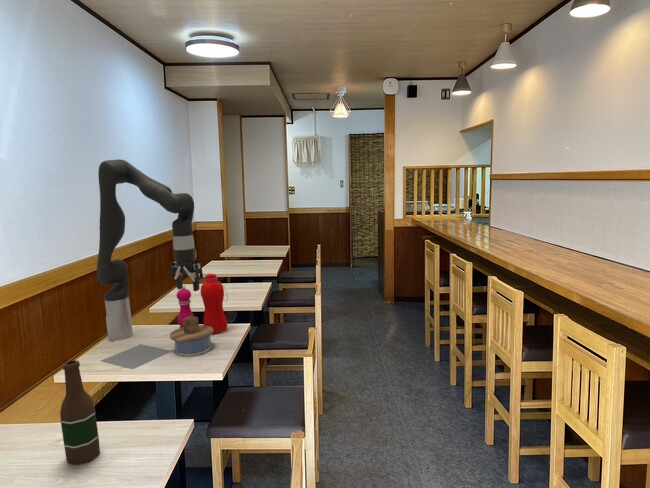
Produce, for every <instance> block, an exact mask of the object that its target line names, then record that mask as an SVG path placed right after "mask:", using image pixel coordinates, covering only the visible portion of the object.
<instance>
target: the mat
mask: <svg viewBox="0 0 650 488" xmlns="http://www.w3.org/2000/svg"><path fill="white" fill-rule="evenodd" d="M172 352H173V350H171V349H166V348H165V349H164V348H162V347H157V346H156V347H155V346H152V345H147V344H142V343H141V344H138V345H134V346H133V347H130V348H127V349H126V350H123V351H121V352H118V353H116V354H114V355H111V356H109V357H106V358H104V359H101V360H100V362H102V363H106V364H110V365H113V366H118V367H120V368H121V367H123V368H126V369H130V370H135V369H136V368H139V367H141V366H143V365H145V364H147V363H150V362H152V361H154V360H156V359H158V358H160V357H163V356H164V355H167V354H169V353H172Z"/></svg>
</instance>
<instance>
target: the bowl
mask: <svg viewBox="0 0 650 488" xmlns="http://www.w3.org/2000/svg"><path fill="white" fill-rule="evenodd" d="M211 335H212V334H211ZM211 335H210V336H208V337H206V338H203V339H199V340H195V341H186V342H180V341H174V340H173V341H174V350H175V352H176V354H177V355H180V356H195V355H200V354H202V353H203V354H204V353H205V352H207V351H209V350H210V349H212V337H211Z"/></svg>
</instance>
